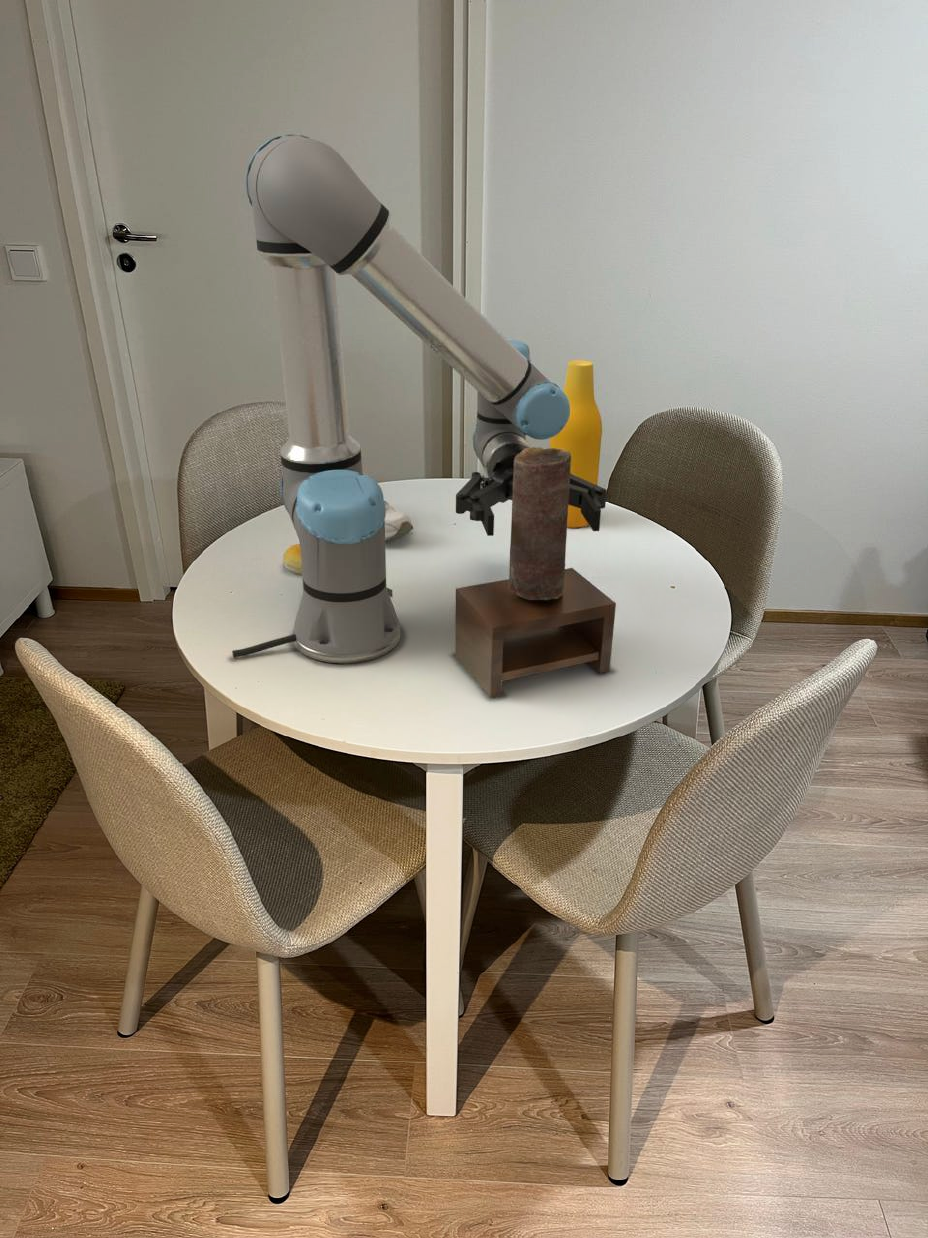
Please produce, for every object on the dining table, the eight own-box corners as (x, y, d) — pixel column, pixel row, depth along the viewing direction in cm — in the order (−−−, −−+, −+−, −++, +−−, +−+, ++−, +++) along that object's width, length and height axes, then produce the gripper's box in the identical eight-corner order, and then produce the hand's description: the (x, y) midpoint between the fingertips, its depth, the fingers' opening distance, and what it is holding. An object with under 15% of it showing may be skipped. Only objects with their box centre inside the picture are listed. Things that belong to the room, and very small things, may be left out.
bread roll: (276, 562, 164) (274, 540, 162) (326, 551, 168) (325, 530, 166) (295, 581, 158) (293, 558, 156) (346, 569, 162) (345, 547, 160)
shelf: (490, 698, 128) (492, 627, 123) (454, 655, 138) (455, 588, 133) (609, 671, 134) (616, 603, 129) (567, 632, 144) (572, 567, 139)
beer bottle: (582, 532, 177) (594, 371, 164) (536, 522, 181) (544, 364, 168) (602, 516, 184) (616, 361, 171) (558, 506, 188) (567, 354, 175)
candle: (546, 613, 126) (555, 465, 117) (497, 599, 130) (501, 454, 120) (572, 591, 132) (583, 448, 123) (525, 578, 136) (531, 438, 126)
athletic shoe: (392, 552, 168) (400, 483, 164) (297, 522, 180) (303, 457, 176) (428, 547, 176) (437, 481, 172) (335, 518, 188) (341, 456, 185)
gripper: (594, 488, 145) (637, 546, 126) (426, 495, 141) (445, 555, 123) (598, 439, 141) (643, 491, 123) (426, 444, 138) (445, 499, 119)
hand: (544, 523), depth 123 cm, fingers open, 13 cm apart
